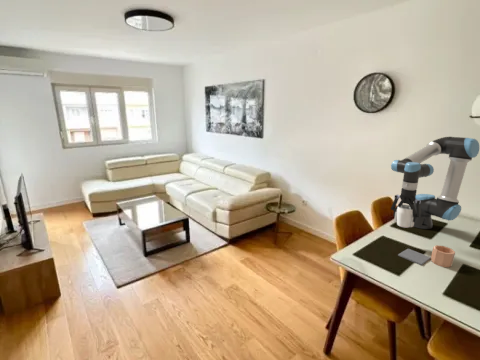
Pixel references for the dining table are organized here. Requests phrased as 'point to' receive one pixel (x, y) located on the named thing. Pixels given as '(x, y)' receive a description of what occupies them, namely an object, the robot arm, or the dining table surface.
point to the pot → (442, 256)
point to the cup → (404, 216)
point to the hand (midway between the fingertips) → (403, 223)
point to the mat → (414, 256)
